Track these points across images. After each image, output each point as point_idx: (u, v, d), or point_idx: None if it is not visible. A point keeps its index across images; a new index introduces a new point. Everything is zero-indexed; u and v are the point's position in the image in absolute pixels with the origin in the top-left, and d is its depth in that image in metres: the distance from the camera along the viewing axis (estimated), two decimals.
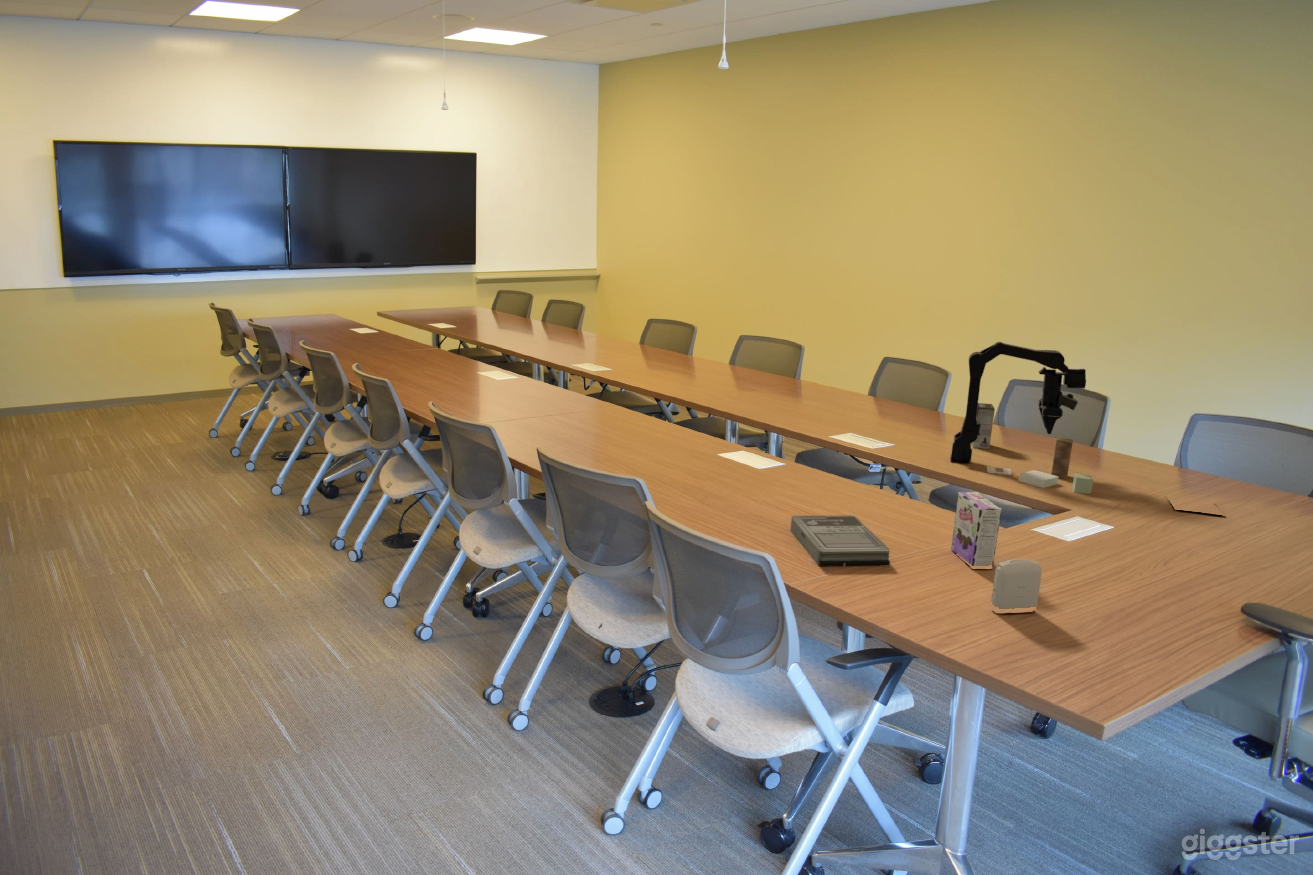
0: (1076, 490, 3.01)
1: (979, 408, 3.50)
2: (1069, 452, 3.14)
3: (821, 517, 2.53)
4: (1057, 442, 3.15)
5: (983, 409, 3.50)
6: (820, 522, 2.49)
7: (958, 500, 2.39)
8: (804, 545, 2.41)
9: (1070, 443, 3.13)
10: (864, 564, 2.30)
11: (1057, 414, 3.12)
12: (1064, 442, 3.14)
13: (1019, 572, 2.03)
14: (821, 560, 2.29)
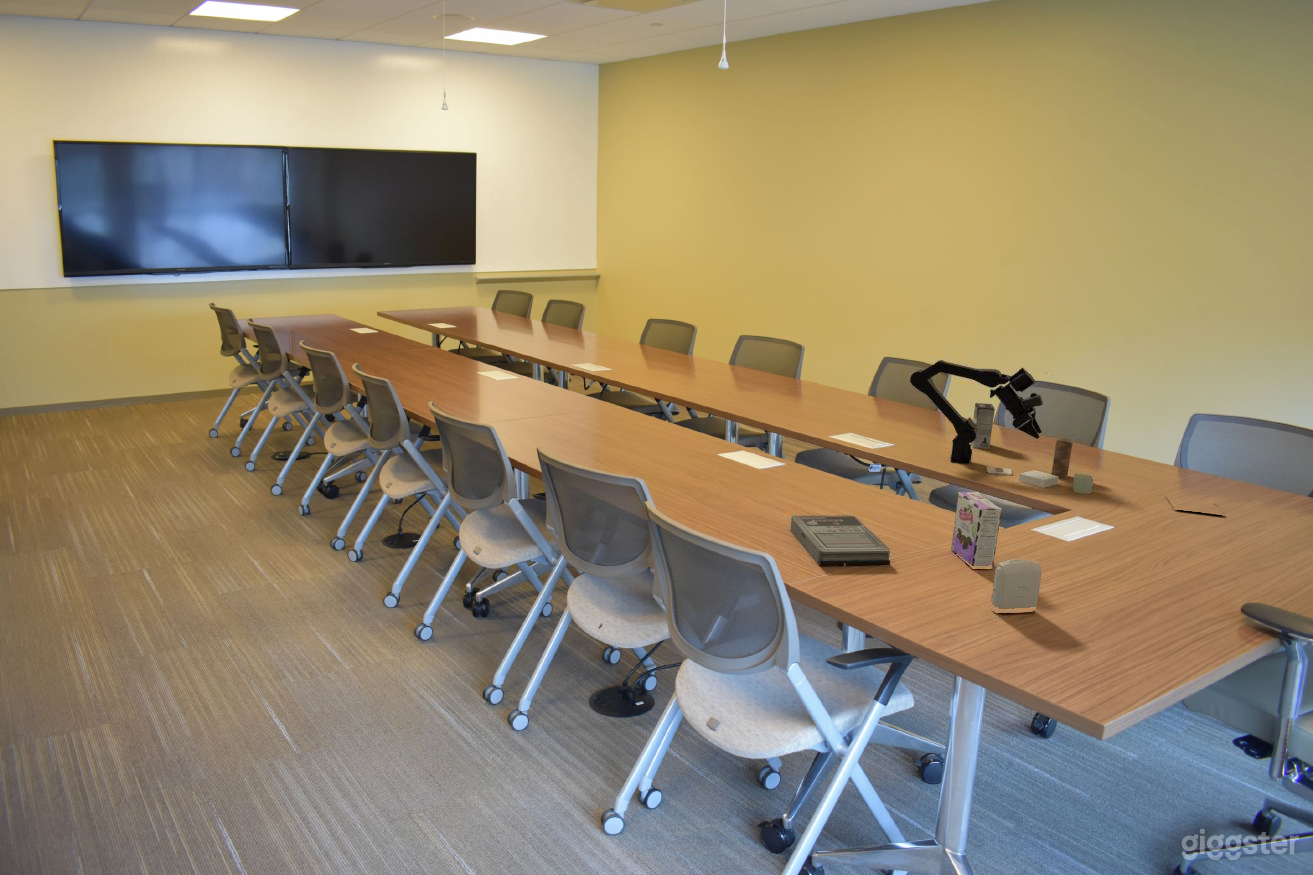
0: (1076, 490, 3.01)
1: (979, 408, 3.50)
2: (1069, 452, 3.14)
3: (821, 517, 2.53)
4: (1057, 442, 3.15)
5: (983, 409, 3.50)
6: (820, 522, 2.49)
7: (958, 500, 2.39)
8: (804, 545, 2.41)
9: (1070, 443, 3.13)
10: (864, 564, 2.30)
11: (1025, 419, 3.12)
12: (1064, 442, 3.14)
13: (1019, 572, 2.03)
14: (821, 560, 2.29)
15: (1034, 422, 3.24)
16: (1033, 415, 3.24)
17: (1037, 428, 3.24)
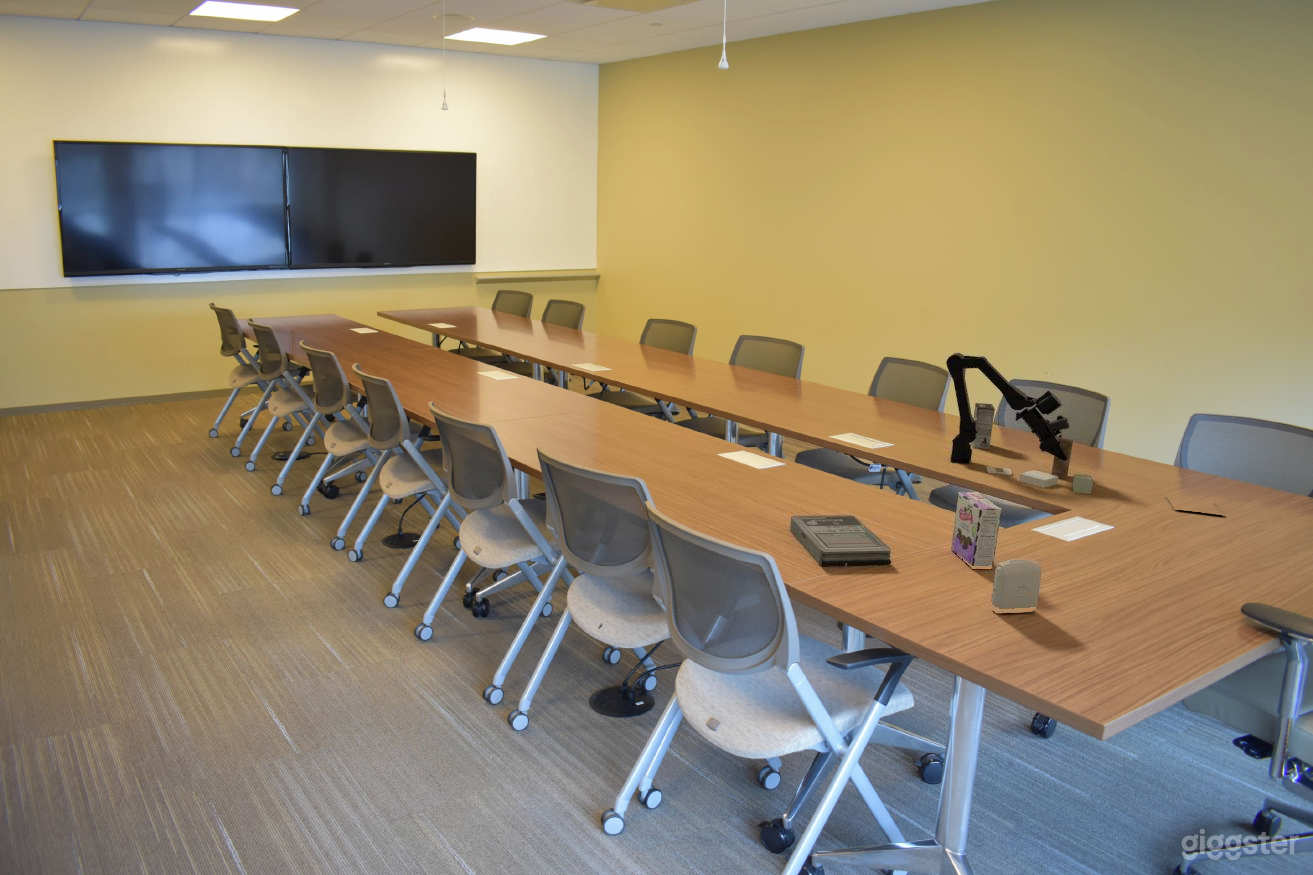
0: (1076, 490, 3.01)
1: (979, 408, 3.50)
2: (1069, 452, 3.14)
3: (820, 517, 2.53)
4: None
5: (983, 409, 3.50)
6: (820, 522, 2.49)
7: (958, 500, 2.39)
8: (805, 545, 2.41)
9: (1070, 443, 3.13)
10: (865, 564, 2.31)
11: (1053, 443, 3.09)
12: (1064, 442, 3.14)
13: (1019, 572, 2.03)
14: (823, 560, 2.29)
15: None
16: None
17: None
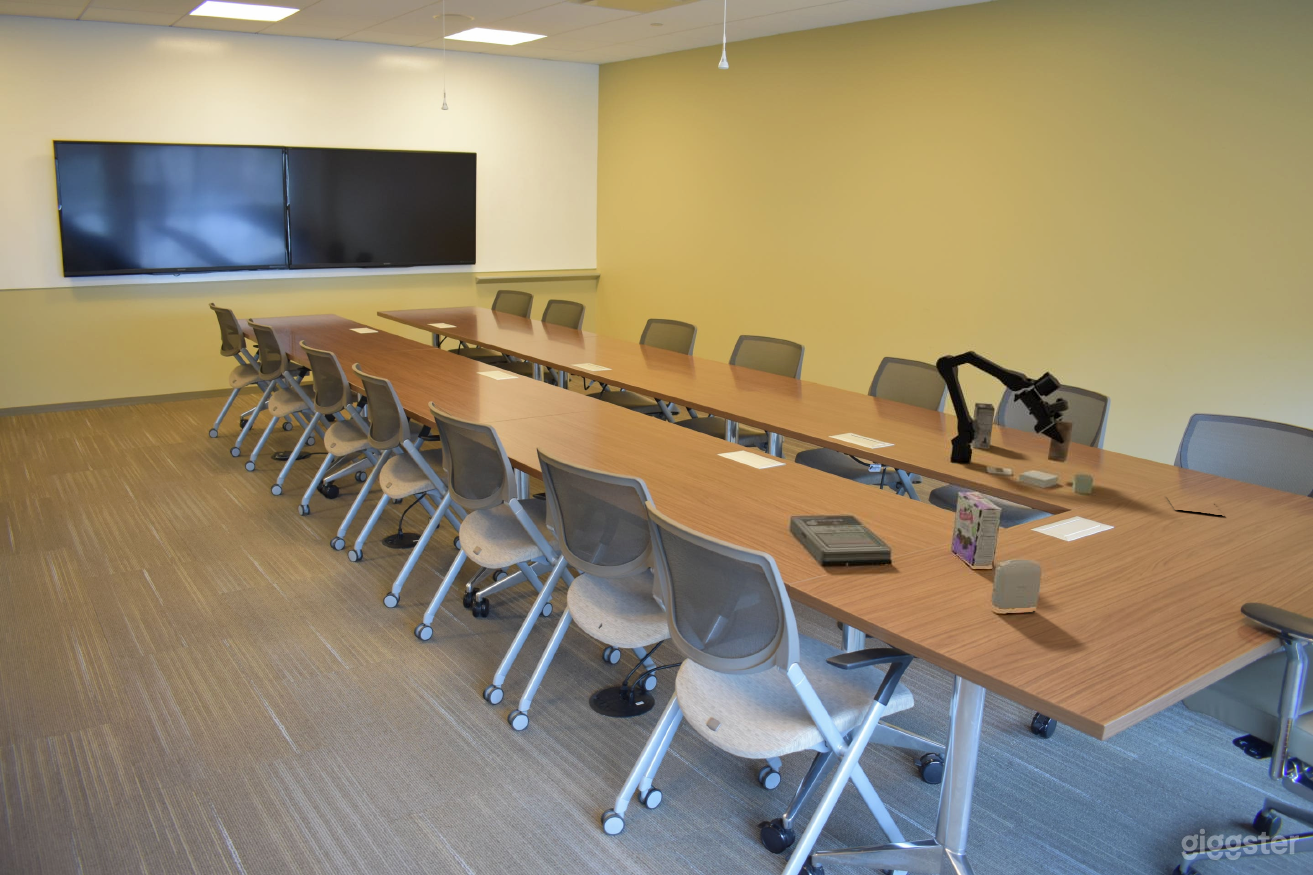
0: (1076, 490, 3.01)
1: (979, 408, 3.50)
2: (1066, 435, 3.09)
3: (820, 517, 2.54)
4: None
5: (983, 409, 3.50)
6: (820, 522, 2.49)
7: (958, 500, 2.39)
8: (805, 545, 2.41)
9: (1067, 426, 3.09)
10: (866, 564, 2.31)
11: (1047, 424, 3.06)
12: (1061, 425, 3.10)
13: (1019, 572, 2.03)
14: (824, 560, 2.29)
15: None
16: None
17: None
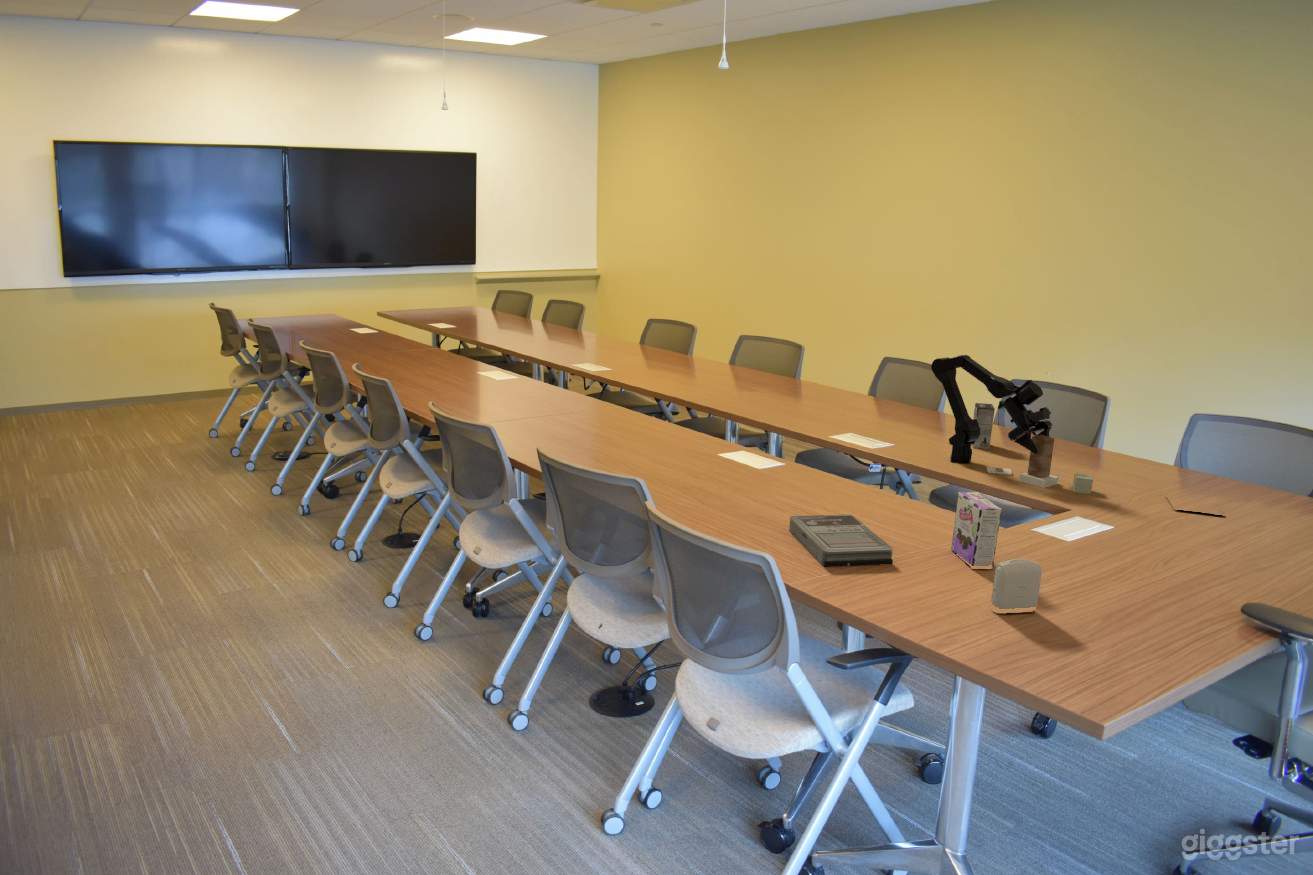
0: (1076, 490, 3.01)
1: (979, 408, 3.50)
2: (1043, 449, 3.05)
3: (819, 517, 2.54)
4: (1033, 438, 3.08)
5: (983, 409, 3.50)
6: (820, 522, 2.49)
7: (958, 500, 2.39)
8: (806, 545, 2.41)
9: (1044, 440, 3.05)
10: (868, 563, 2.31)
11: (1019, 432, 3.04)
12: (1039, 438, 3.06)
13: (1019, 572, 2.03)
14: (826, 560, 2.29)
15: None
16: (1045, 431, 3.12)
17: None
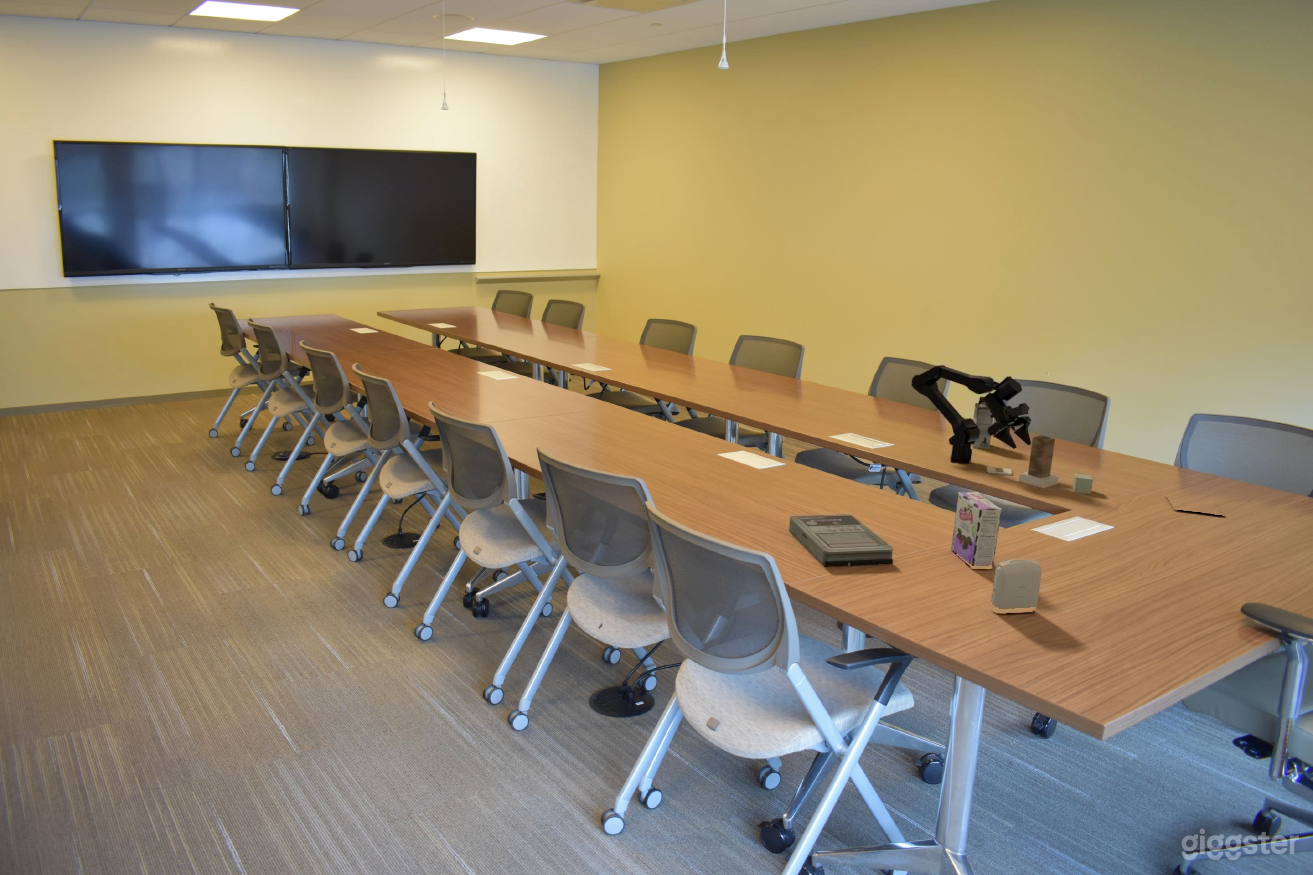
0: (1076, 490, 3.01)
1: (979, 408, 3.50)
2: (1043, 450, 3.04)
3: (819, 517, 2.54)
4: (1033, 439, 3.07)
5: (983, 409, 3.50)
6: (819, 522, 2.49)
7: (958, 500, 2.39)
8: (806, 546, 2.41)
9: (1044, 441, 3.04)
10: (868, 563, 2.31)
11: (998, 427, 3.10)
12: (1039, 440, 3.05)
13: (1019, 572, 2.03)
14: (826, 560, 2.29)
15: (1024, 433, 3.18)
16: (1024, 426, 3.18)
17: (1027, 440, 3.17)
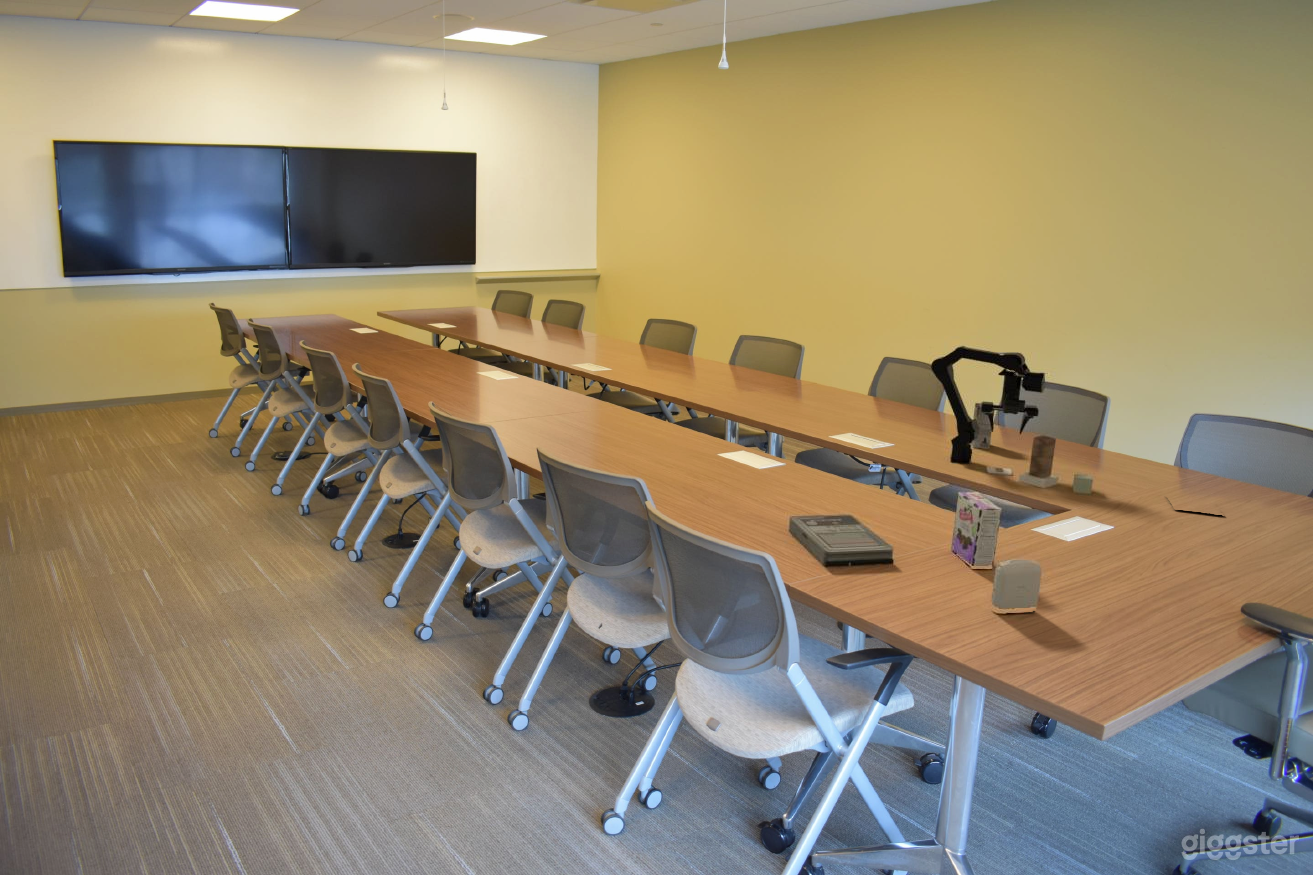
0: (1076, 490, 3.01)
1: (979, 408, 3.50)
2: (1044, 451, 3.04)
3: (819, 517, 2.54)
4: (1034, 439, 3.07)
5: None
6: (819, 522, 2.49)
7: (958, 500, 2.39)
8: (806, 546, 2.41)
9: (1045, 441, 3.04)
10: (869, 563, 2.31)
11: (980, 409, 3.22)
12: (1040, 440, 3.05)
13: (1019, 572, 2.03)
14: (827, 560, 2.29)
15: (1022, 422, 3.20)
16: (1024, 417, 3.18)
17: (1020, 429, 3.21)
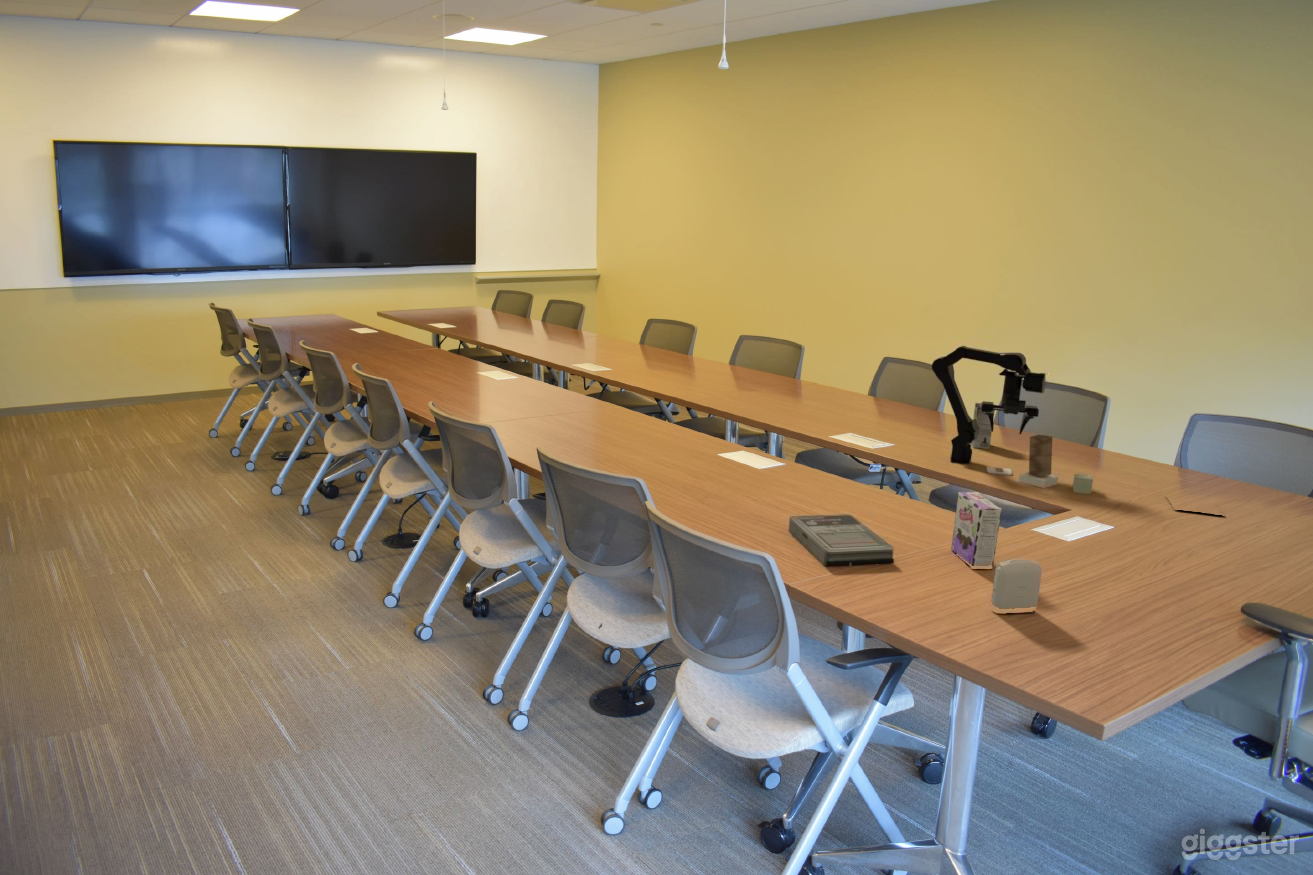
0: (1076, 490, 3.01)
1: (979, 408, 3.50)
2: (1041, 449, 3.05)
3: (819, 517, 2.54)
4: (1030, 439, 3.08)
5: None
6: (819, 522, 2.49)
7: (958, 500, 2.39)
8: (806, 546, 2.41)
9: (1041, 439, 3.05)
10: (869, 563, 2.31)
11: (981, 408, 3.22)
12: (1036, 439, 3.06)
13: (1019, 572, 2.03)
14: (828, 560, 2.29)
15: (1022, 423, 3.20)
16: (1024, 417, 3.19)
17: None
